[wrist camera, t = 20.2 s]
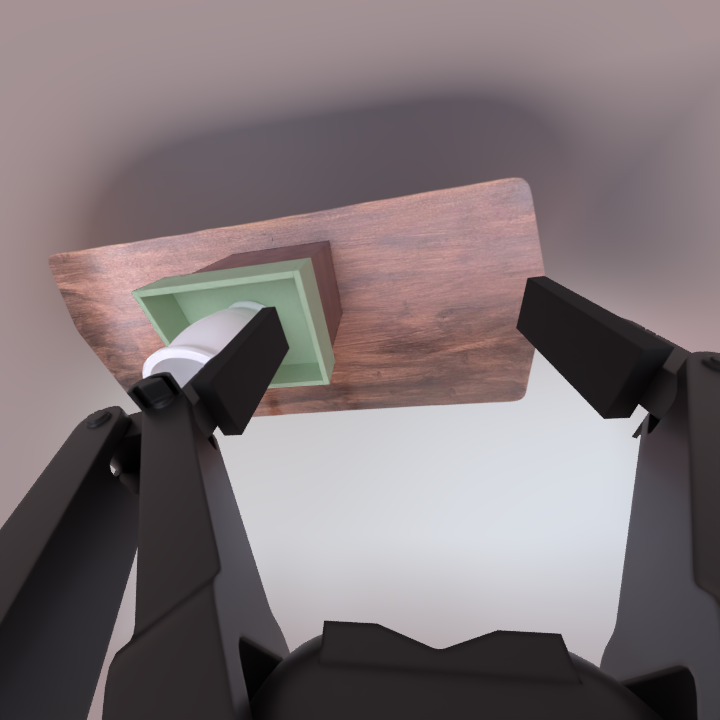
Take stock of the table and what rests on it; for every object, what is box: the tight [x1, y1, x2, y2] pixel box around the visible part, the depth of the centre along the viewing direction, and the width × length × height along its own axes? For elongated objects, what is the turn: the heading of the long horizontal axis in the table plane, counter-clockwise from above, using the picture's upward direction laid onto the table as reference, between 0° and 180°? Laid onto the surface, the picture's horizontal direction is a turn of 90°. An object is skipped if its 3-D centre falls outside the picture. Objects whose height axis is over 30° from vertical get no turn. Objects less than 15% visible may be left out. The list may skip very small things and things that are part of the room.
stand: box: [192, 241, 342, 347], centre depth 47 cm, size 20×15×18 cm
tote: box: [131, 258, 335, 388], centre depth 37 cm, size 22×17×6 cm
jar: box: [143, 300, 266, 388], centre depth 32 cm, size 11×10×15 cm
